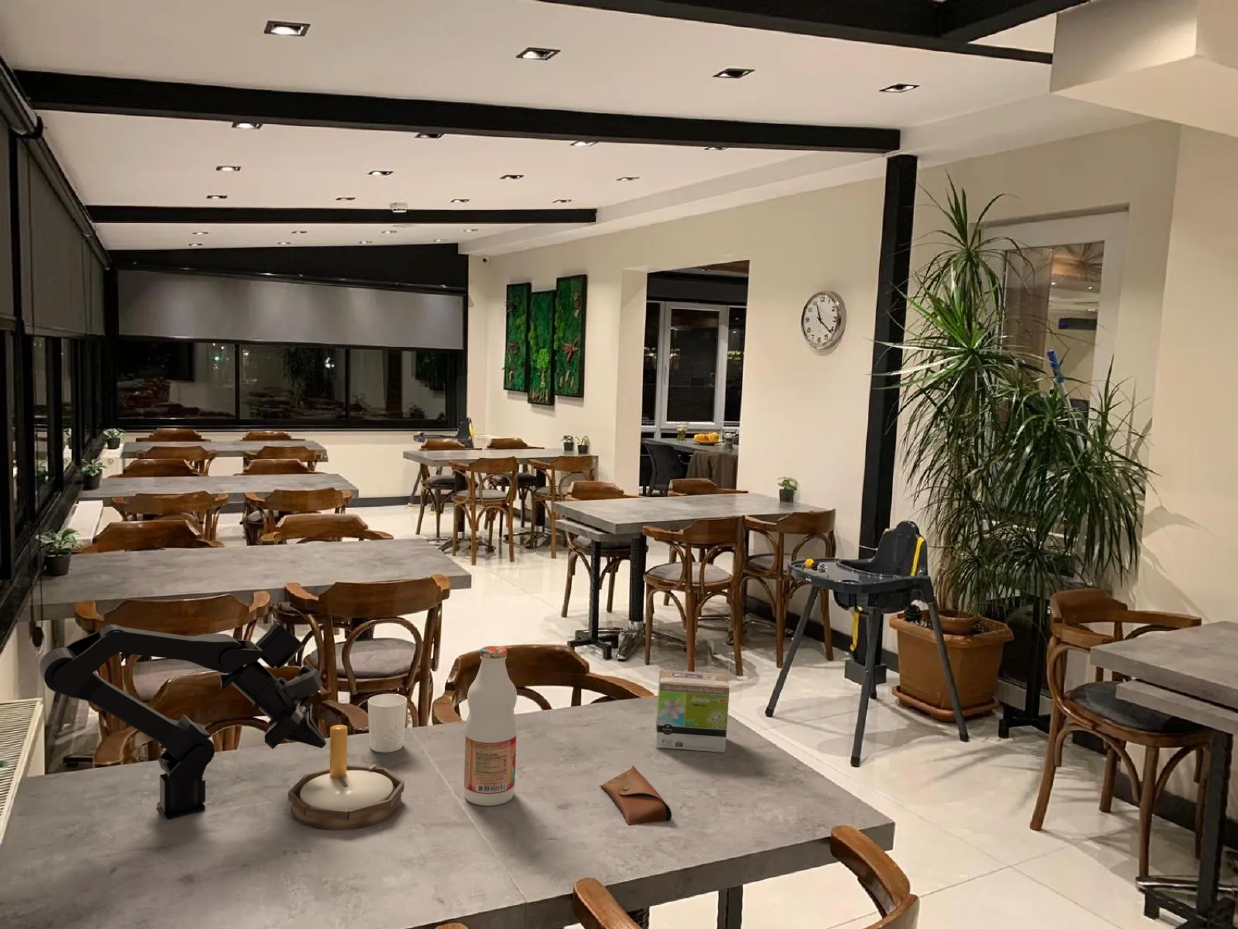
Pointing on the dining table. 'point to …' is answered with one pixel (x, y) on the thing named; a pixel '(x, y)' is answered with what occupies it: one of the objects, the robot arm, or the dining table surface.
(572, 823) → the dining table surface
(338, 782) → the dial
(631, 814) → the sunglasses case
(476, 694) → the fruit juice
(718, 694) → the tea box
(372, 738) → the white cup
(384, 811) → the dial housing
